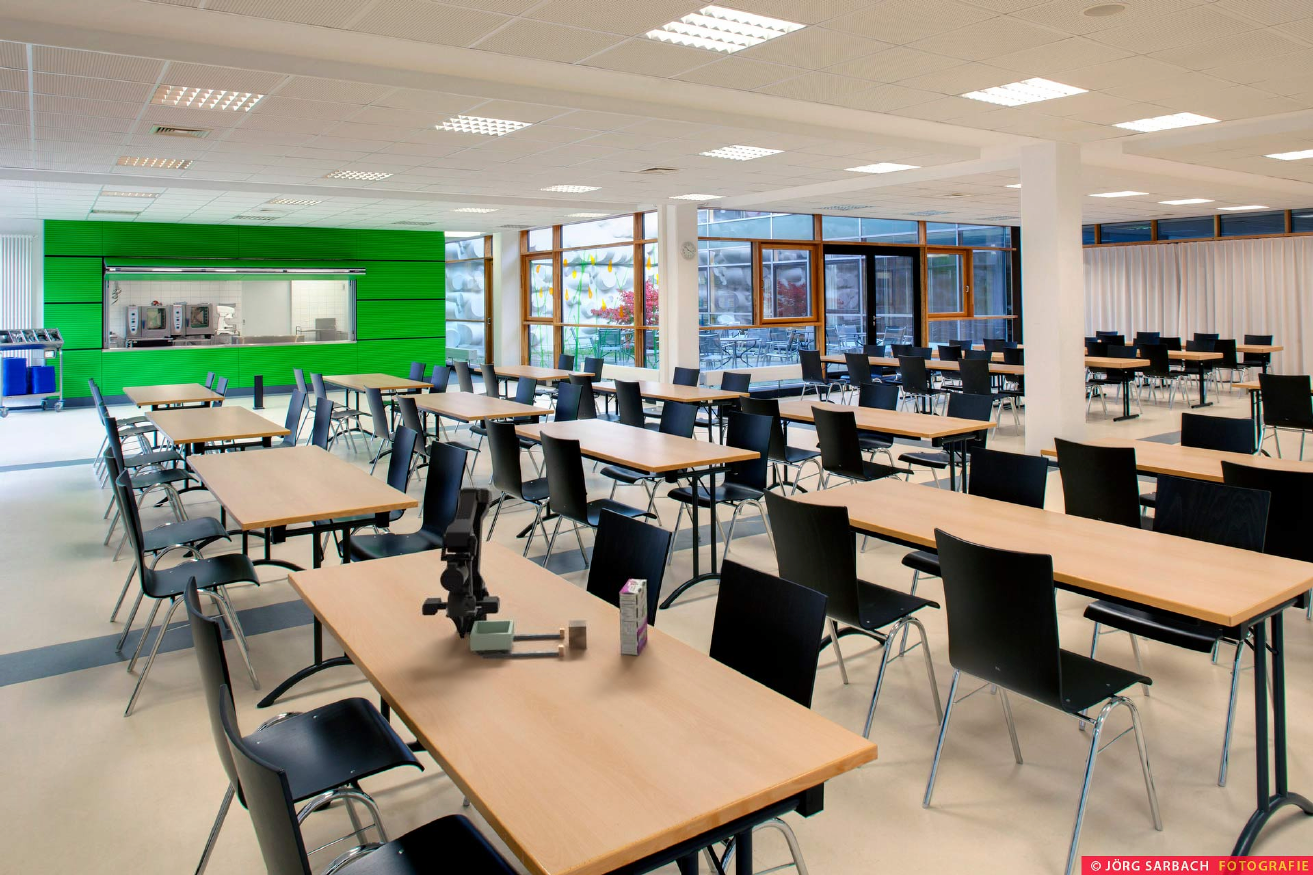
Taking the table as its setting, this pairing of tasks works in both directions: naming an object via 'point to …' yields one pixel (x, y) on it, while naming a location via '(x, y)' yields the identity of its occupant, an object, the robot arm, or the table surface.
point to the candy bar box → (633, 616)
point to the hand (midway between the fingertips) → (462, 638)
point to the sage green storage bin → (492, 635)
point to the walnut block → (577, 634)
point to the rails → (531, 654)
